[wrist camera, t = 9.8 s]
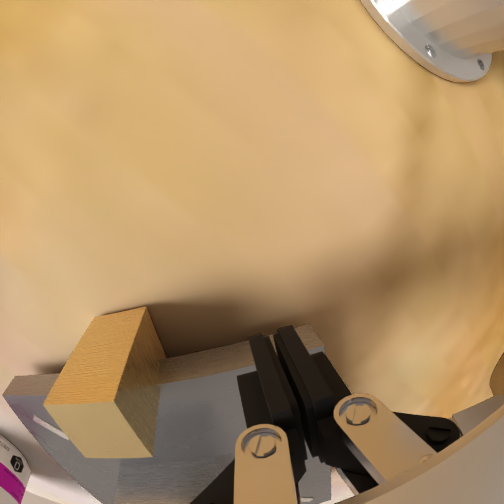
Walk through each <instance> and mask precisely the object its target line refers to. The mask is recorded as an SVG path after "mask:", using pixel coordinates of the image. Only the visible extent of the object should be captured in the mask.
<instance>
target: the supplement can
mask: <svg viewBox="0 0 504 504" xmlns="http://www.w3.org/2000/svg"><path fill="white" fill-rule="evenodd" d="M30 475H31V471H30V468H29V466H28V464H27V461H26V459H25V458H24V456H23V455H22V454H21V452H20V451H19V450H18V449H17V448H16V447H15V446H14V445H13V444H11V443H10V442H9V441H8V440H7V439H5V438H4V437H3V436H2V435H0V504H21V501H22V498H23V495H24V492H25V489H26V486H27V483H28V480H29V478H30Z"/></svg>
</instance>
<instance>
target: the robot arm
mask: <svg viewBox="0 0 504 504" xmlns="http://www.w3.org/2000/svg"><path fill="white" fill-rule="evenodd" d="M360 1H361V3H362V4H363V5H364V7H365V8H366V9H367V11H368V12H369V14H370V15H371V16H372V18H373V19H374V20H375V21H376V22H377V24H378V25H379V26H380V27H381V28H382V30H383V31H384V32H385V33H386V34H387V35H388V36H389V37H390V38H391V39H392V40H393V41H394V42H395V43H396V44H397V45H398V46H399V47H400V48H401V49H402V50H403V51H404V52H405V53H407V54H408V55H409V56H410V57H411V58H412V59H414V60H415V61H416V62H417V63H419V64H420V65H422V66H423V67H424V68H426V69H427V70H429V71H430V72H432V73H434V74H436V75H438V76H440V77H442V78H443V79H446V80H450V81H453V82H462V83H466V82H470V81H475V80H479V79H480V78H482V77H484V76H485V74H486V73H487V72H488V70H489V68H490V65H491V61H492V53H493V52H497V51H501V50H504V0H360ZM277 331H278V333H276V334H273V338H274V343H275V347H276V352H277V354H276V352H275V349H274V347H273V344H272V342H271V340H270V337H269V336H265V337H263V335H262V333H261V334H258V335H254V336H250V337H248V340H249V344H250V348H251V352H252V355H253V359H254V363H255V366H256V370H257V371H253V372H249V373H245V374H241V375H237V382H238V387H239V392H240V397H241V402H242V407H243V412H244V417H245V422H246V426H247V429H246V430H245V431H244V432H243V433H241V434H240V436H239V437H238V439H237V441H236V445H235V458H234V460H233V461H232V462H231V463H230V464H229V465H228V466H227V467H226V468H225V469H224V470H223V471H222V472H221V473H220V474H219V475H218V476H217V477H216V478H215V479H214V480H213V481H212V482H211V483H210V484H209V485H208V486H207V487H206V488H205V489H204V490H203V491H202V492H201V493H200V494H199V495H198V496H197V497H196V498H195V499H194V500H193V501H192V502H191V503H190V504H302V502H301V495H300V488H299V483H298V482H299V481H300V480H301V478H302V477H303V475H304V474H305V472H306V465H305V460H307V459H308V457H307V451H306V445H305V442H306V444H307V446H308V449H309V451H310V454H311V456H312V458H314V457H317V456H318V458H319V460H320V462H321V463H323V462H325V464H326V465H329V466H333V467H336V470H337V472H338V474H339V475H340V476H341V478H342V479H343V480H344V482H345V483H346V484H347V486H348V487H349V488H350V490H351V491H352V492H353V494H354V495H355V496H353V497H351V498H348V499H345V500H343V501H340V502H338V503H335V504H504V394H499V395H495V396H493V397H491V398H489V399H487V400H485V401H483V402H481V403H478V404H476V405H474V406H472V407H470V408H467V409H465V410H463V411H460V412H458V413H456V414H453V416H452V418H450V419H446V418H442V417H431V416H421V415H413V414H405V413H398V412H392V411H391V410H389V409H388V408H387V407H386V406H385V405H384V404H383V403H382V402H381V401H380V400H379V399H377V398H376V397H374V396H372V395H369V394H361V393H359V394H351V393H350V391H349V390H348V388H347V387H346V385H345V384H344V382H343V381H342V379H341V378H340V376H339V375H338V373H337V372H336V370H335V369H334V367H333V366H332V364H331V363H330V361H329V360H328V358H327V357H326V355H325V354H324V353H323V352H322V351H321V352H318V353H315V354H311V355H310V354H309V353H308V351H307V349H306V348H305V346H304V344H303V342H302V341H301V339H300V337H299V336H298V334H297V332H296V331H295V329H294V327H293V326H292V325H290V326H286V327H283V328H279V329H277Z"/></svg>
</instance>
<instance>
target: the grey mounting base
mask: <svg viewBox="0 0 504 504" xmlns="http://www.w3.org/2000/svg"><path fill="white" fill-rule="evenodd" d="M294 329H295V331H296V332H297V334H298V336H299V337H300V339H301V341H302V342H303V344H304V346H305V348H306V349H307V351H308V353H309V354H310V355H311V354H315V353H318V352H321V351H322V352H323V353H324V354H325V349H324V344H323V343H322V341H321V340H320V338H319V337H318V335H317V334H316V332H315V331H314V329H313V328H312V327H311V325H310V324H306V325H303V326H300V327H296V328H294ZM275 334H276V333H275ZM267 336H269V337H270V340H271V342H272V344H273V347H274V349H275V352H276V347H275V343H274V338H273V334H271V335H267ZM263 337H265V336H263ZM276 354H277V352H276ZM253 371H257V370H256V366H255V363H254V359H253V355H252V352H251V348H250V344H249V340H248V341H244V342H239V343H235V344H231V345H227V346H222V347H218V348H214V349H209V350H205V351H200V352H195V353H190V354H185V355H180V356H175V357H170V358H166V355H165V353H164V350H163V348H162V345H161V343H160V341H159V338H158V336H157V333H156V331H155V328H154V325H153V323H152V320H151V318H150V315H149V312H148V310H147V307H141V308H137V309H132V310H127V311H123V312H118V313H113V314H108V315H104V316H99V317H95V318H94V319H93V321H92V322H91V324H90V325H89V327H88V328H87V330H86V331H85V333H84V335H83V336H82V338H81V339H80V341H79V343H78V344H77V346H76V347H75V349H74V351H73V352H72V354H71V356H70V357H69V359H68V361H67V362H66V364H65V366H64V367H63V369H62V371H61V373H56V374H44V375H29V376H15V377H14V379H13V380H12V382H11V383H10V384H9V386H8V387H7V389H6V390H5V392H4V393H3V395H2V396H3V397H4V398H5V400H6V401H7V403H8V404H9V406H10V407H11V408H12V410H13V411H14V412H15V414H16V415H17V416H18V418H19V419H20V420H21V422H22V423H23V424H24V425H25V427H26V428H27V429H28V430H29V432H30V433H31V434H32V435H33V436H34V438H35V439H36V440H37V441H38V442H39V443H40V445H41V446H42V447H43V448H44V449H45V450H46V451H47V452H48V453H49V455H50V456H51V457H52V458H53V459H54V460H55V461H56V462H57V463H58V464H59V465H60V466H61V467H62V468H63V469H64V470H65V471H66V472H67V473H68V474H69V475H70V476H71V477H72V478H73V479H75V480H76V481H77V482H78V483H79V484H80V485H81V486H82V487H83V488H84V489H86V490H87V491H88V492H89V493H90V494H91V495H93V496H94V497H95V498H96V499H97V500H99V501H100V502H101V503H102V504H114V501H115V494H116V487H117V481H118V475H119V469H120V465H130V464H153V463H166V462H177V461H186V460H194V459H201V458H208V457H215V458H216V460H217V462H218V463H219V465H220V466H221V468H222V470H224V469H225V468H226V467H227V466H228V465H229V464H230V463H231V462H232V461H233V460H234V458H235V445H236V441H237V439H238V437H239V436H240V434H241V433H243V432H244V431H245V430H246V429H247V426H246V422H245V417H244V412H243V407H242V402H241V397H240V392H239V387H238V382H237V375H241V374H245V373H249V372H253ZM305 445H306V451H307V457H308V459H307V460H305V465H306V472H305V474H304V475H303V477H302V478H301V480H300V481H299V482H298V483H299V488H300V495H301V502H302V504H319V503H322V502H325V501H328V500H331V466H329V465H326V464H325V462H323V463H321V462H320V460H319V458H318V456H317V457H314V458H312V456H311V454H310V451H309V449H308V446H307V444H306V442H305Z"/></svg>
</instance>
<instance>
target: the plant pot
mask: <svg viewBox="0 0 504 504" xmlns="http://www.w3.org/2000/svg"><path fill="white" fill-rule="evenodd" d="M490 388H491V390H492V393H493V395H494V396H495V395H499V394H504V354H503V355H502V357H501V358H500V360H499V362H498V363H497V365H496V367H495V369H494V371H493V374H492V376H491V379H490Z"/></svg>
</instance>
